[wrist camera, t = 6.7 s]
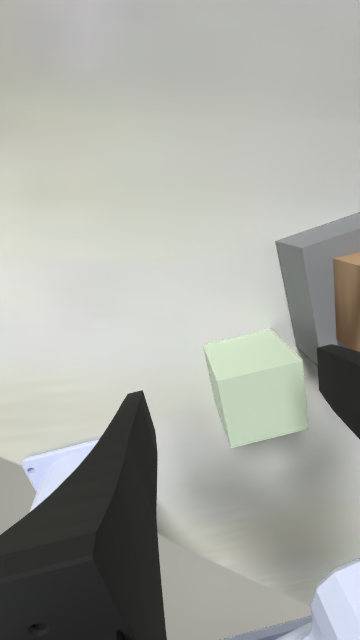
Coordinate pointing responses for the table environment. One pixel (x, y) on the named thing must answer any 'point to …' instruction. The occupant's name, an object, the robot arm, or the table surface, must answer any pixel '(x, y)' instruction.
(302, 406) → the sage cube
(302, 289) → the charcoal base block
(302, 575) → the table surface
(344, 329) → the walnut cube
